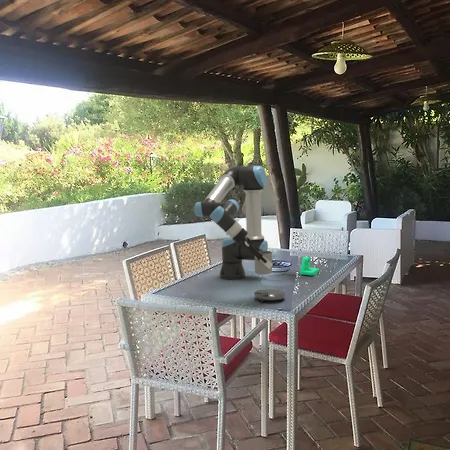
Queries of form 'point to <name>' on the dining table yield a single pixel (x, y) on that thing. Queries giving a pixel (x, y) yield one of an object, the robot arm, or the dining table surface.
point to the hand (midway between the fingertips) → (270, 264)
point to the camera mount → (307, 267)
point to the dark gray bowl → (269, 295)
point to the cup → (260, 267)
